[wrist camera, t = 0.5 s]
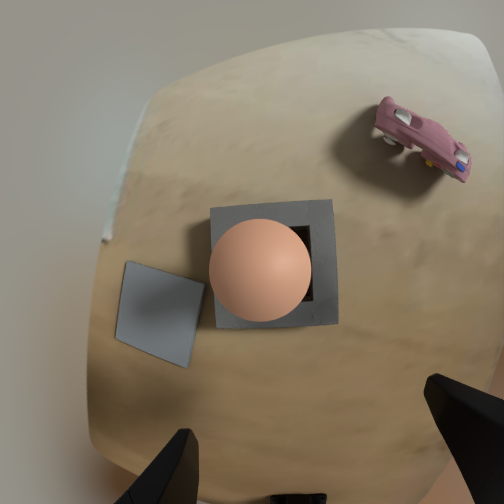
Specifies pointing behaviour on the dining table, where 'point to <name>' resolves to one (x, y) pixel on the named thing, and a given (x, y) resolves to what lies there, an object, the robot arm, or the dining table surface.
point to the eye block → (320, 252)
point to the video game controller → (423, 138)
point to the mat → (159, 312)
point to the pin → (260, 270)
